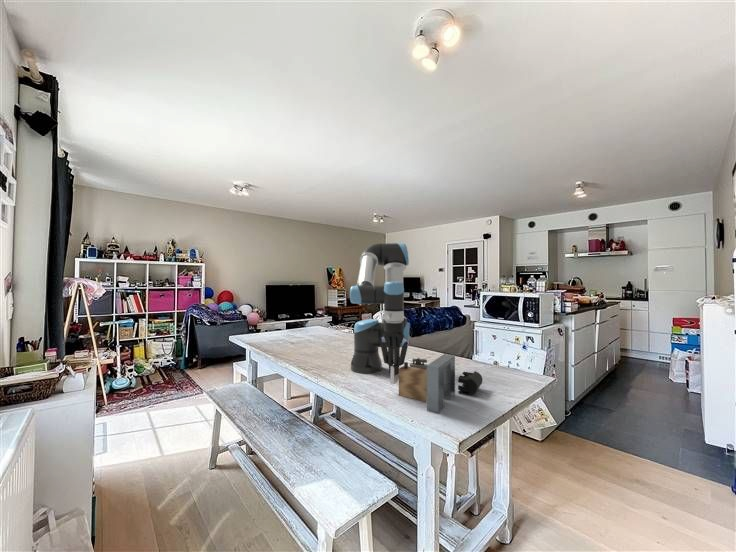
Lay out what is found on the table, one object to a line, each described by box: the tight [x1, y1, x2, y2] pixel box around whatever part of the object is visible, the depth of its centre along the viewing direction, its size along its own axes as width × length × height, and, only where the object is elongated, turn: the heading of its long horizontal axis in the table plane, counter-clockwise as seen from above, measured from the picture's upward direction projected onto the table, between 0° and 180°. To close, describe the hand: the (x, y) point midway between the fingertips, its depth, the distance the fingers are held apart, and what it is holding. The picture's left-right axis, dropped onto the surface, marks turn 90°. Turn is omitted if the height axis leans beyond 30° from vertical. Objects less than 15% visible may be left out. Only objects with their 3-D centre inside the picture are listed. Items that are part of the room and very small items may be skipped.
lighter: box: [409, 357, 428, 370], centre depth 131 cm, size 8×3×10 cm, turn 68°
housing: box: [426, 353, 456, 414], centre depth 110 cm, size 4×18×15 cm, turn 148°
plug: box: [398, 361, 427, 403], centre depth 115 cm, size 13×4×12 cm, turn 57°
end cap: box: [457, 370, 484, 396], centre depth 120 cm, size 10×7×7 cm
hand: (393, 382), depth 120 cm, fingers closed
